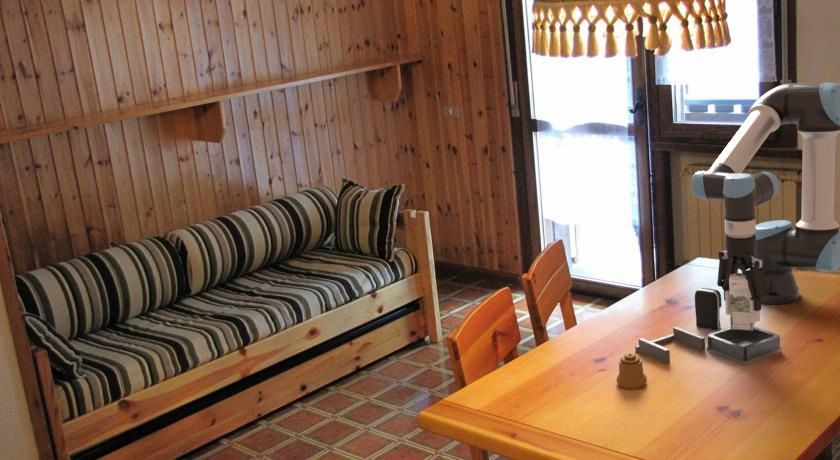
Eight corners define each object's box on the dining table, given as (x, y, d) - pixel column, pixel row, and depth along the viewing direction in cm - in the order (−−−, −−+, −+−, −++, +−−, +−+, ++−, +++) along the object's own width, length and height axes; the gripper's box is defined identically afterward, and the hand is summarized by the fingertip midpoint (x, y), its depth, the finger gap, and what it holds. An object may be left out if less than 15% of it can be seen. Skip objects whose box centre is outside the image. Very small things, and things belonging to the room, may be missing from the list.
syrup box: (755, 323, 247) (754, 271, 244) (753, 331, 242) (751, 278, 239) (732, 322, 250) (731, 271, 246) (730, 330, 245) (728, 278, 241)
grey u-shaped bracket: (673, 338, 262) (672, 325, 261) (705, 351, 251) (704, 337, 250) (635, 351, 256) (634, 337, 255) (666, 364, 245) (665, 350, 244)
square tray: (743, 337, 256) (743, 322, 255) (781, 351, 245) (781, 335, 244) (706, 350, 251) (705, 335, 250) (743, 365, 239) (743, 349, 238)
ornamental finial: (652, 381, 236) (637, 392, 231) (626, 376, 241) (611, 386, 236) (650, 352, 234) (635, 363, 229) (624, 347, 239) (609, 357, 234)
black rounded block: (724, 326, 266) (722, 288, 263) (717, 331, 263) (716, 292, 260) (701, 322, 271) (700, 285, 268) (695, 327, 268) (693, 289, 265)
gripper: (700, 230, 247) (703, 311, 253) (760, 244, 229) (762, 331, 235) (721, 224, 251) (724, 304, 256) (782, 238, 232) (784, 324, 238)
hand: (742, 317), depth 245 cm, fingers closed on syrup box, 8 cm apart
